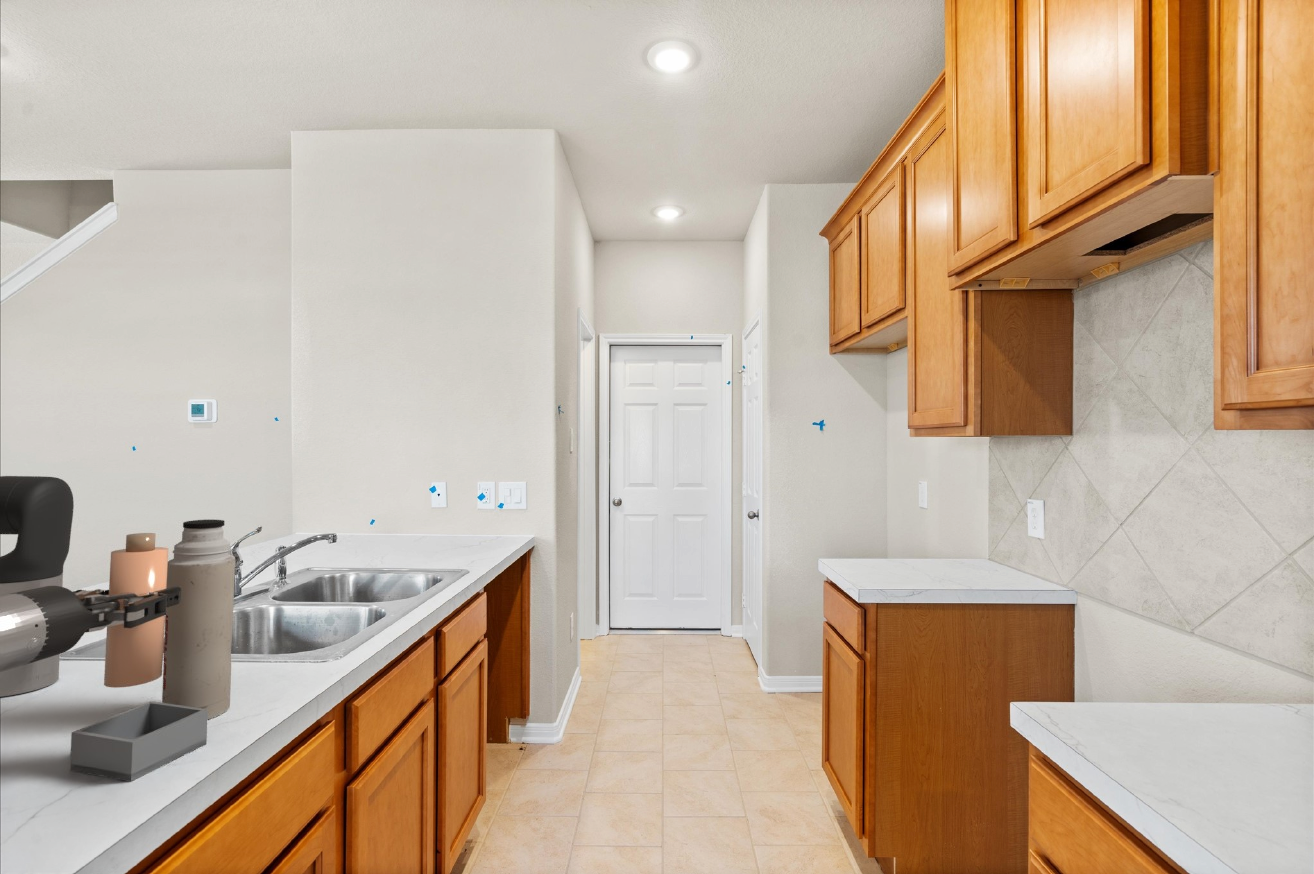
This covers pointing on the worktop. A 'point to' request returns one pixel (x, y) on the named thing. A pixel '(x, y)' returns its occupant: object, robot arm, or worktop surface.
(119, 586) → the oil bottle
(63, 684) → the worktop surface
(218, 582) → the thermos bottle
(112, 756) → the bin
